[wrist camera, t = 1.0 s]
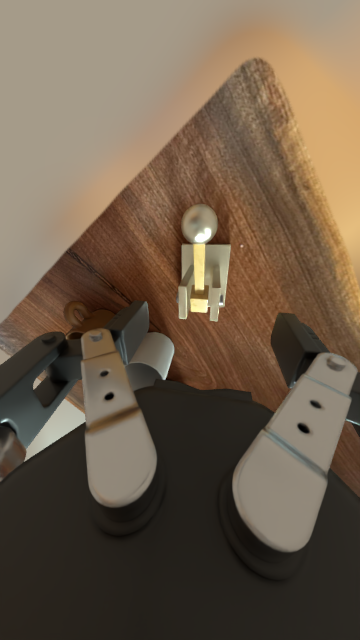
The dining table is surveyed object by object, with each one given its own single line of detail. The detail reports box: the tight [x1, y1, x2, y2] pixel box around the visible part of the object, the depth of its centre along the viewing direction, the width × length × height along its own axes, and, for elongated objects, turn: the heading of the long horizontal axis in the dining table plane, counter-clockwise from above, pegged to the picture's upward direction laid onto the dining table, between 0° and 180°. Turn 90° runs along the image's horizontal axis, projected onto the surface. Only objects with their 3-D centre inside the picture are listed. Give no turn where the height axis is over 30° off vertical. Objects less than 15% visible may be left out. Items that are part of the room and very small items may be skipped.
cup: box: [124, 332, 174, 390], centre depth 40 cm, size 8×8×10 cm
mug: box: [63, 301, 115, 340], centre depth 38 cm, size 12×8×9 cm, turn 13°
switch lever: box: [181, 204, 218, 313], centre depth 21 cm, size 13×3×3 cm, turn 0°
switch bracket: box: [176, 243, 231, 321], centre depth 29 cm, size 11×8×13 cm
